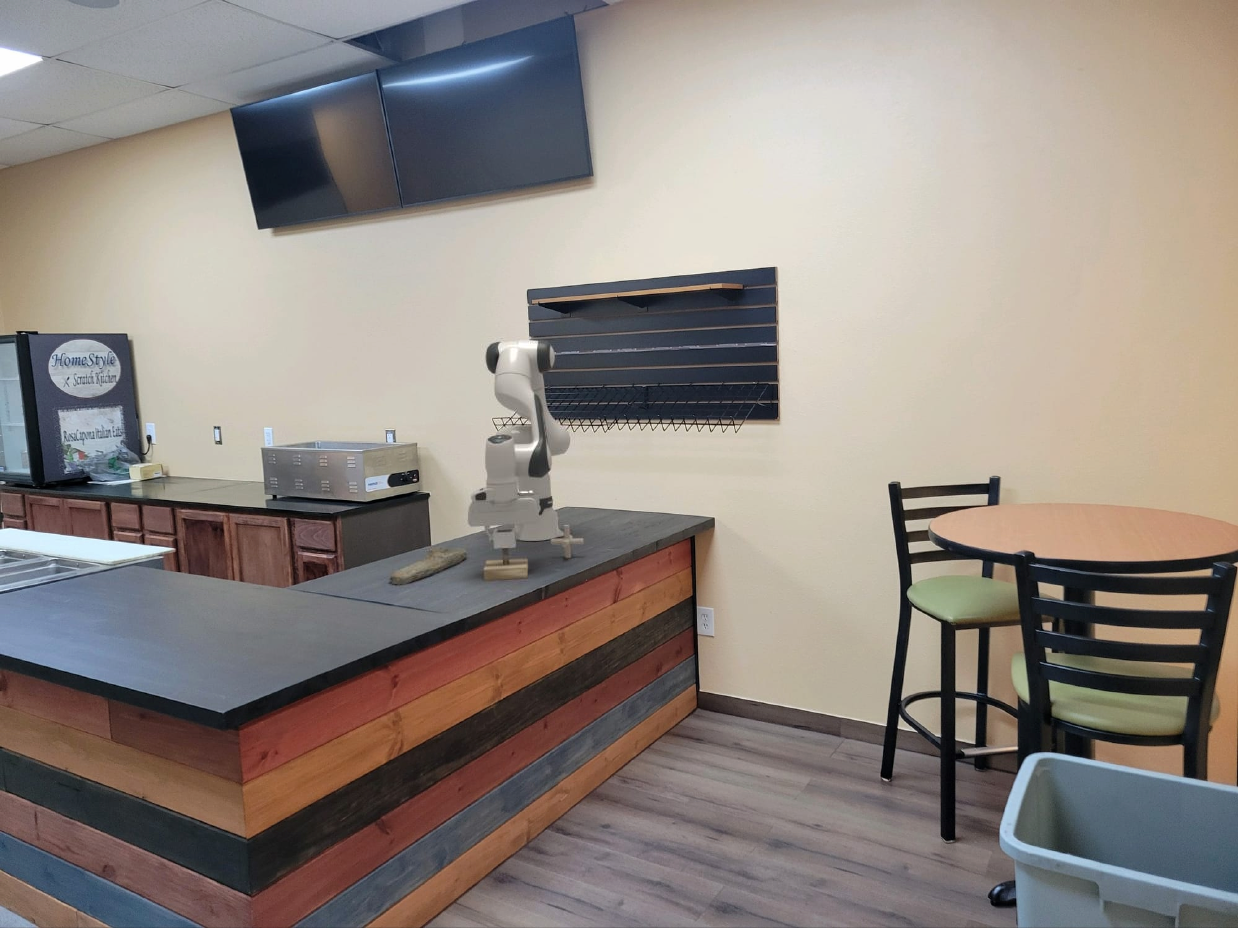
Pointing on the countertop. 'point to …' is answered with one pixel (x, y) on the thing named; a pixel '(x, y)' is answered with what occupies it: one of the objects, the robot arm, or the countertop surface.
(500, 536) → the silver square ring
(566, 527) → the pipe connector
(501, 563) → the shaft stand
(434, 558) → the long grey stone
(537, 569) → the countertop surface
